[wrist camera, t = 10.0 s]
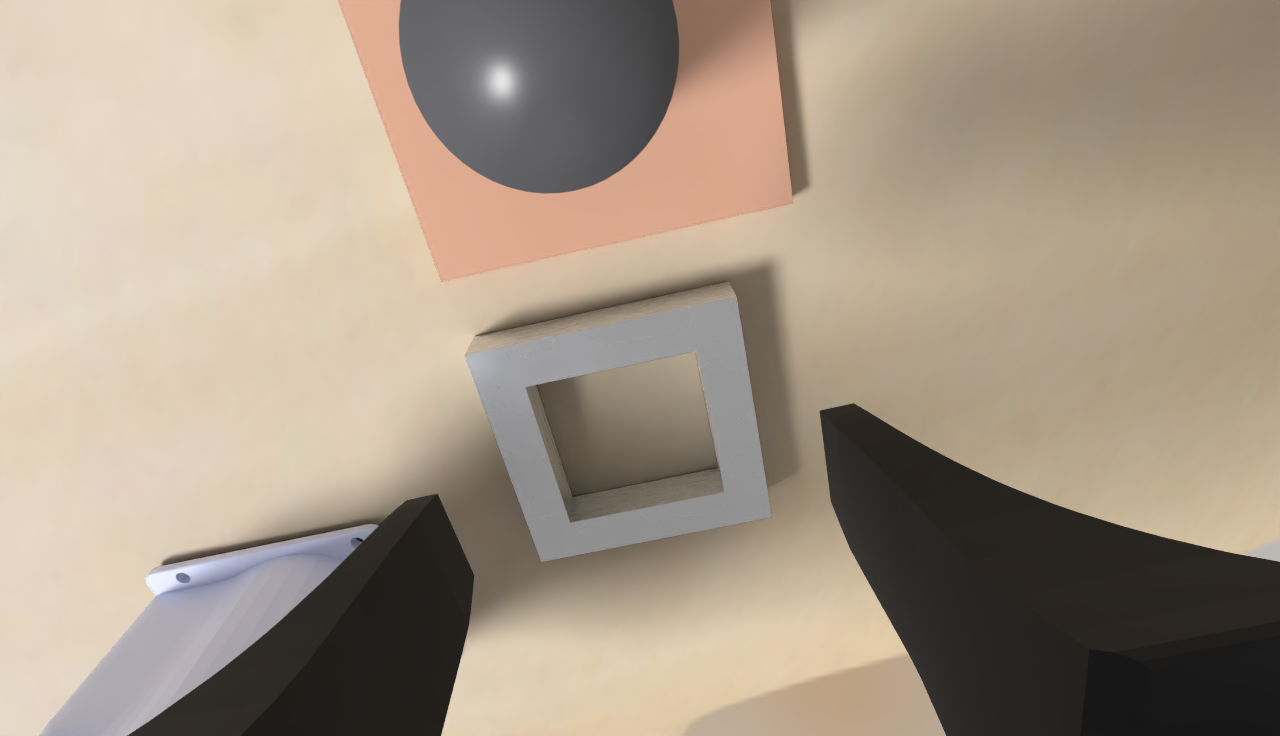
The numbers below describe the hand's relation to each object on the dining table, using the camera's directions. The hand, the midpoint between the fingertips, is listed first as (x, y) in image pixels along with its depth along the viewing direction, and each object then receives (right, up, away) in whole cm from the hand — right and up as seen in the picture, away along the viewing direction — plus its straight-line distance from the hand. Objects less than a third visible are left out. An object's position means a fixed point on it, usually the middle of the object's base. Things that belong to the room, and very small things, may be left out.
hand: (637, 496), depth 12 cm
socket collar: (0, +1, +11) cm, 11 cm away
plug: (-2, +11, +5) cm, 12 cm away
